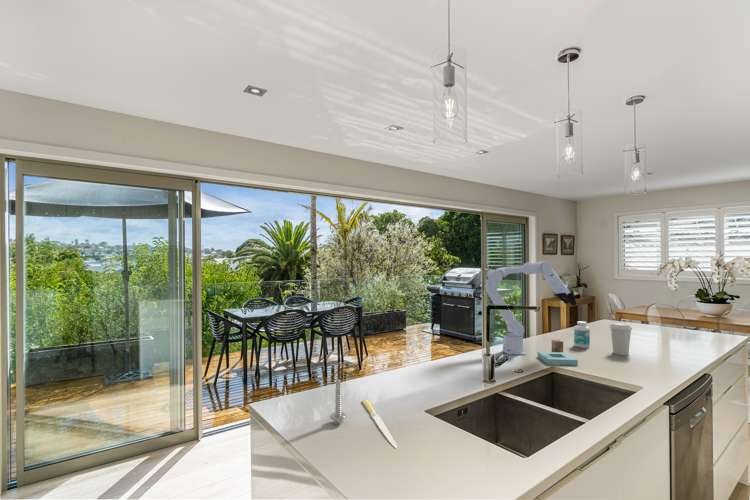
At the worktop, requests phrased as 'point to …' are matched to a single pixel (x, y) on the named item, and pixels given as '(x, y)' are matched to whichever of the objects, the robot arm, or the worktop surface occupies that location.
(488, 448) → the worktop surface
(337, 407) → the screw
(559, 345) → the walnut peg
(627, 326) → the coffee cup
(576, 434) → the worktop surface
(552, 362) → the socket plate
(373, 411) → the knife
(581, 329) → the pill bottle
